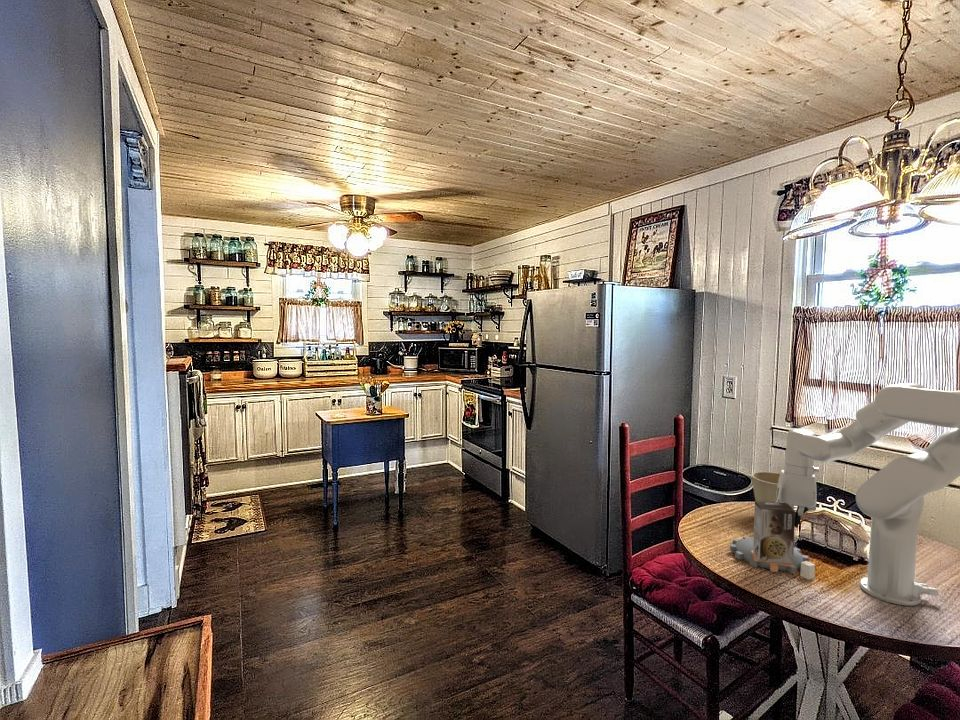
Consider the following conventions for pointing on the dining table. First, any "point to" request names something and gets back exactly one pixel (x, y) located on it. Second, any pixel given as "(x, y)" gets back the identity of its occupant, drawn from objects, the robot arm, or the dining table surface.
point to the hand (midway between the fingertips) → (793, 525)
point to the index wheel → (745, 552)
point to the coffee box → (774, 532)
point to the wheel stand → (807, 570)
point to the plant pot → (765, 486)
